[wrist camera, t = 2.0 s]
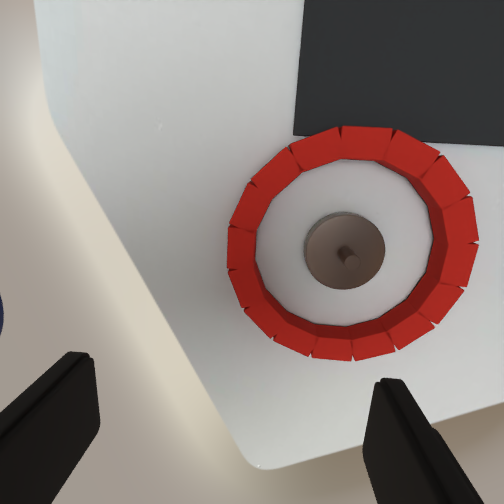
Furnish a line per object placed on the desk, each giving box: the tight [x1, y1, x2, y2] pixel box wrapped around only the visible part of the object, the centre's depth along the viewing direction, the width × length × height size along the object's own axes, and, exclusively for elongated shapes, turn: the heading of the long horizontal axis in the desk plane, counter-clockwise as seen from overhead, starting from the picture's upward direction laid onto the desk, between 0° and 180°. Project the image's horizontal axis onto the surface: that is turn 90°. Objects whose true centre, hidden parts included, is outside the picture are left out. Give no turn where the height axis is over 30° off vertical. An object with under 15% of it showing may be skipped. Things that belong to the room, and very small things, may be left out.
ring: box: [227, 126, 479, 361], centre depth 25 cm, size 19×19×2 cm
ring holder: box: [304, 212, 385, 290], centre depth 24 cm, size 6×6×4 cm
